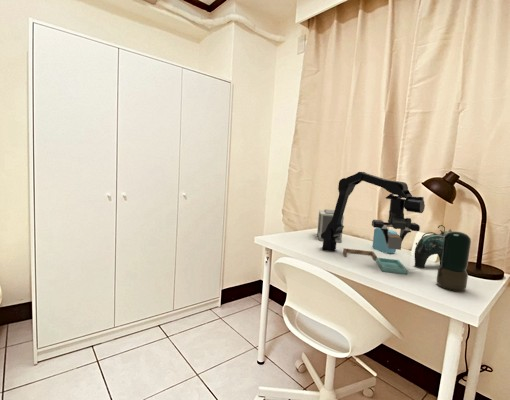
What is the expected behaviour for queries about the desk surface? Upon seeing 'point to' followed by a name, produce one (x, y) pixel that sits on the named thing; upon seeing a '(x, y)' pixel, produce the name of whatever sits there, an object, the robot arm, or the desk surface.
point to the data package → (382, 241)
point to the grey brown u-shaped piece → (359, 252)
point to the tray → (391, 265)
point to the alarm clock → (326, 223)
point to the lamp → (454, 261)
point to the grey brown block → (394, 241)
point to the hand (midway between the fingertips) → (393, 243)
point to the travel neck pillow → (429, 247)
